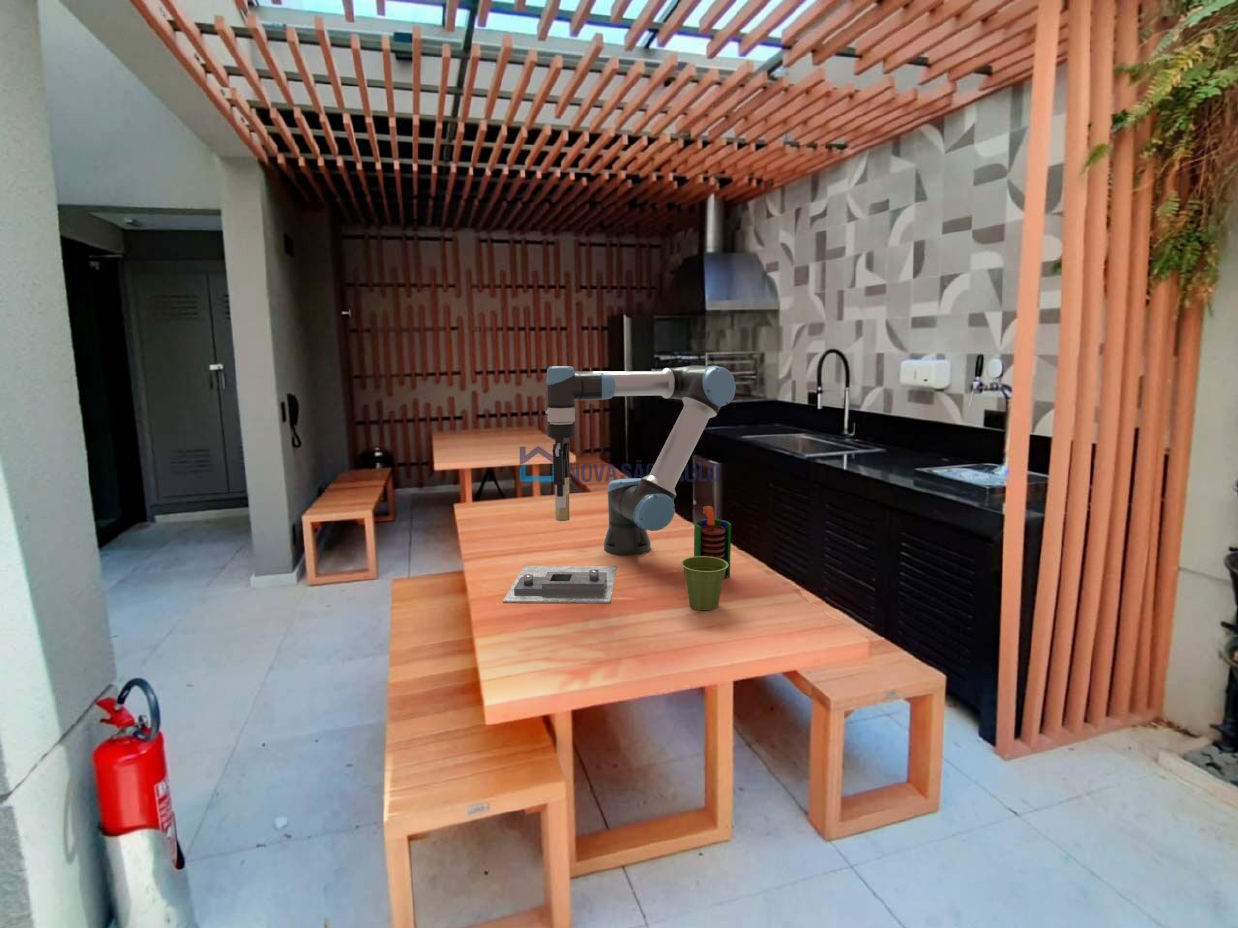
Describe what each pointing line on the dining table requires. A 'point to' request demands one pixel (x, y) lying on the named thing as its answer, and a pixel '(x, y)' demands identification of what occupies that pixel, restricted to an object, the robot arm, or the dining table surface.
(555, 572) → the square hole fixture plate
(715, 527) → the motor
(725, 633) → the dining table surface
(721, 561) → the plant pot
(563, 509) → the brass pin
